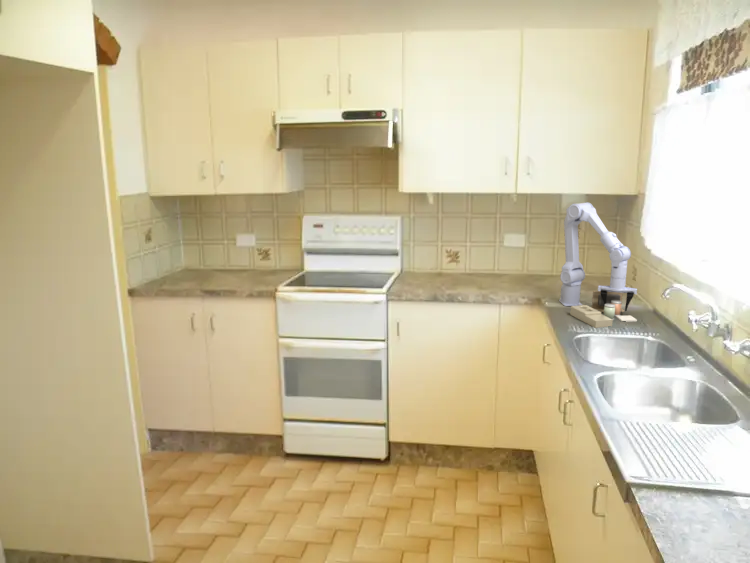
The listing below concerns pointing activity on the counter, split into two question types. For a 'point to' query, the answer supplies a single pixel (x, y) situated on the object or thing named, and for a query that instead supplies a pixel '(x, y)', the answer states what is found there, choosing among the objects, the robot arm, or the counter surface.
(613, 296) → the junction unit
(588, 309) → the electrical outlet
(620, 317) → the pad
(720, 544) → the counter surface
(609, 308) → the cylinder
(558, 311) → the counter surface
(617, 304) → the cylinder
